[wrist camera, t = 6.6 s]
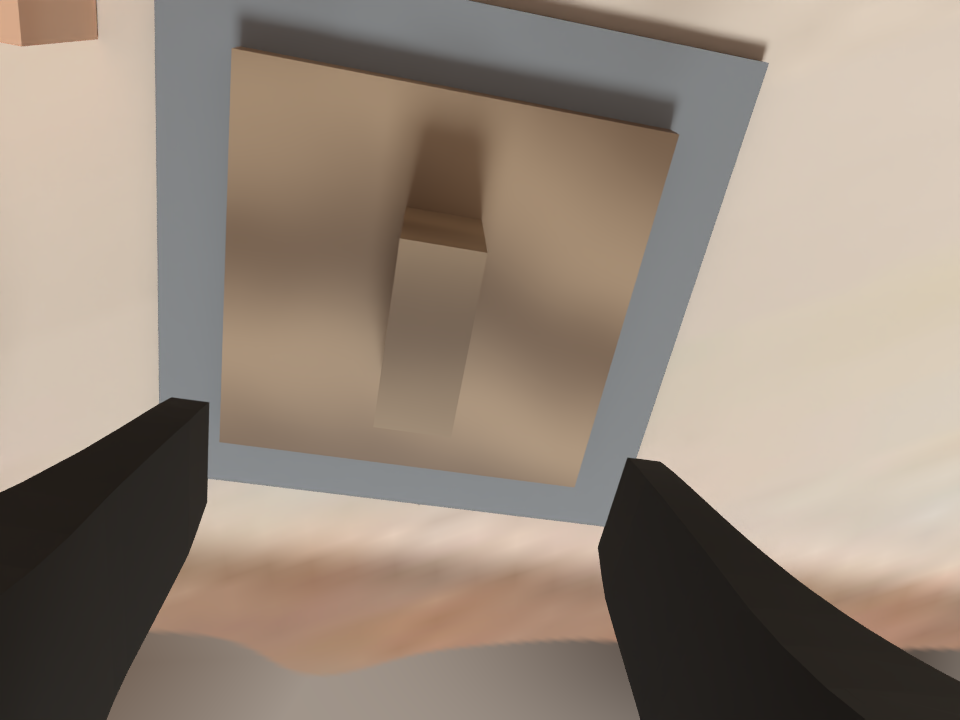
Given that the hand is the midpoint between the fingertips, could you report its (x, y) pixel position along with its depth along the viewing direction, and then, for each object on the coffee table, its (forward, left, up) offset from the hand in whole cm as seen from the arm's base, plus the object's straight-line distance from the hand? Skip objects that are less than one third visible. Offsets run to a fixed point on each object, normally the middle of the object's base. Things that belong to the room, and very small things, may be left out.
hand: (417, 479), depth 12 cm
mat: (0, 0, -9) cm, 9 cm away
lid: (0, 0, -9) cm, 9 cm away
